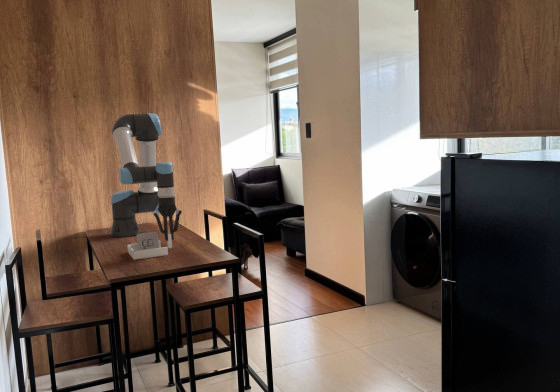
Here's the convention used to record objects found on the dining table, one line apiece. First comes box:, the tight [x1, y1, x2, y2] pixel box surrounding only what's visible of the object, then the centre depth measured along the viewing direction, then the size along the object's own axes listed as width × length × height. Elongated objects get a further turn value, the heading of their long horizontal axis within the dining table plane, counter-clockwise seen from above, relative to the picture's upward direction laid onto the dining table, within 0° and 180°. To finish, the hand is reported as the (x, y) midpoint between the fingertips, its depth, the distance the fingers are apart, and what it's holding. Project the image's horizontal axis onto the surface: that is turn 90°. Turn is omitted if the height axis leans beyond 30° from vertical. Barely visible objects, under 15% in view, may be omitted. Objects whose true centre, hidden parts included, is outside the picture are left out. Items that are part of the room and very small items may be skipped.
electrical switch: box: [135, 231, 159, 251], centre depth 243 cm, size 9×5×9 cm, turn 113°
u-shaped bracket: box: [127, 240, 169, 260], centre depth 240 cm, size 16×15×4 cm
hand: (169, 247), depth 244 cm, fingers closed
